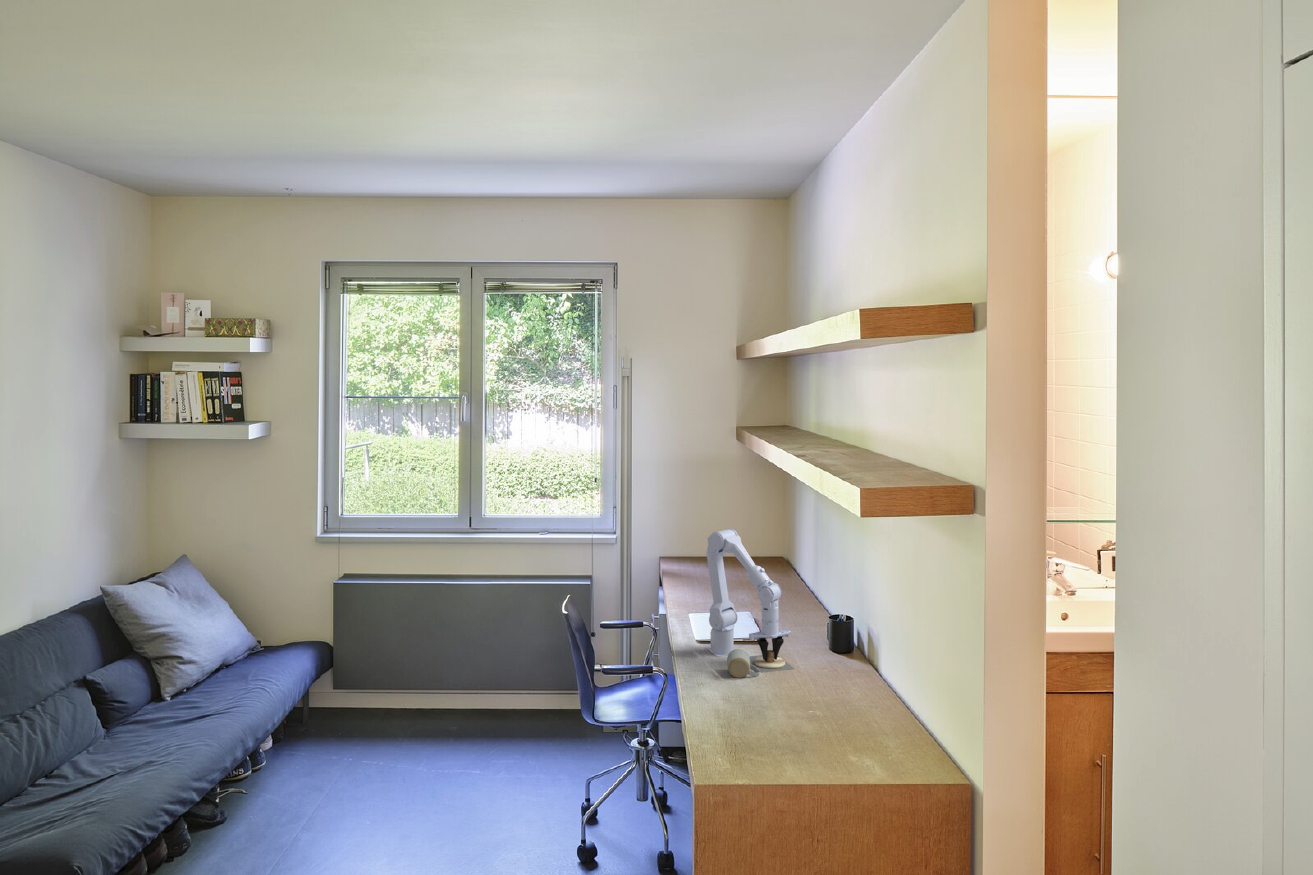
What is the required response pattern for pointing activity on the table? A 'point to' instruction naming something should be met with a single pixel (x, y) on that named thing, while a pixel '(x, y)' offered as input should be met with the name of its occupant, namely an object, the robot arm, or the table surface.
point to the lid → (770, 661)
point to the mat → (786, 667)
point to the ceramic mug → (740, 664)
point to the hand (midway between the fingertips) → (769, 659)
